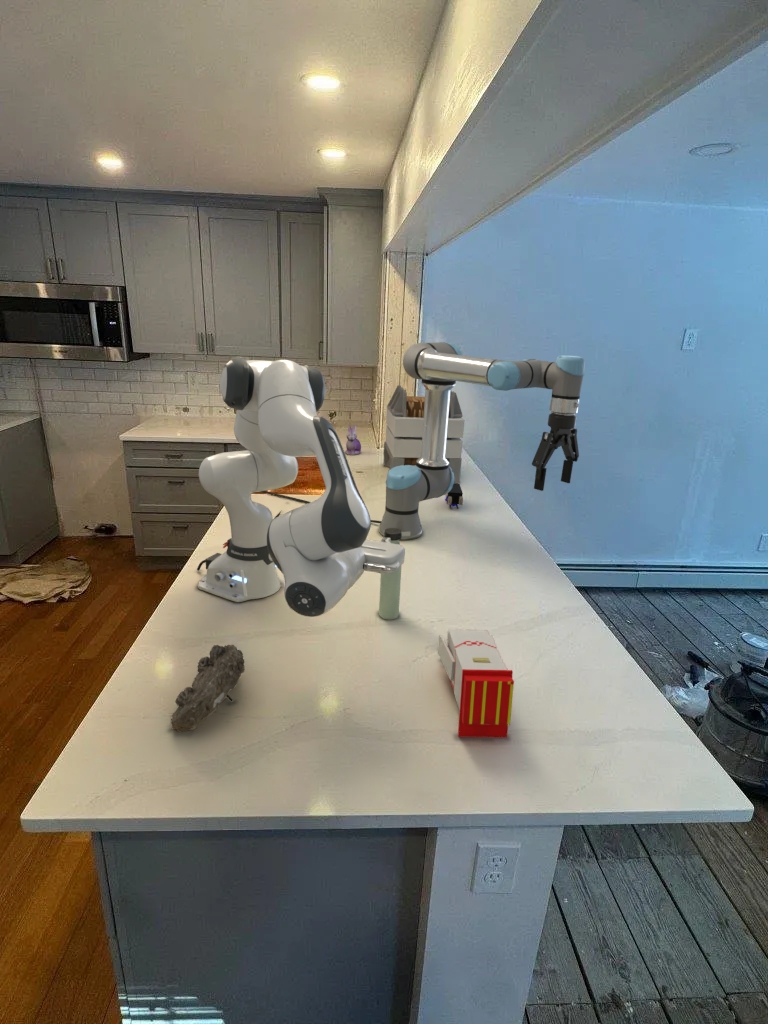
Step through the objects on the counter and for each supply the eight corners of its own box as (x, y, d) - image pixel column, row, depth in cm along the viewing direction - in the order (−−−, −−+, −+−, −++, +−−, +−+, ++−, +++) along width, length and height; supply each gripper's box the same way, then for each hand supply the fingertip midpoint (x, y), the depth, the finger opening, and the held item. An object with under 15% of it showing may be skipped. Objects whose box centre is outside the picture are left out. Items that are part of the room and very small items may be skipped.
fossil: (195, 646, 122) (244, 615, 117) (225, 676, 125) (275, 646, 120) (147, 725, 102) (204, 691, 98) (185, 758, 105) (242, 726, 100)
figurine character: (463, 514, 226) (458, 498, 239) (465, 496, 223) (460, 481, 236) (446, 513, 226) (442, 497, 239) (448, 496, 222) (444, 481, 236)
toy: (488, 613, 130) (523, 677, 101) (484, 667, 133) (517, 744, 104) (435, 612, 130) (455, 676, 101) (432, 666, 133) (451, 743, 103)
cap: (393, 542, 137) (393, 535, 136) (380, 537, 140) (380, 530, 139) (405, 537, 140) (405, 531, 139) (392, 532, 143) (392, 526, 142)
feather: (288, 505, 226) (290, 501, 226) (271, 529, 199) (273, 524, 199) (284, 503, 226) (287, 499, 225) (266, 526, 199) (269, 522, 199)
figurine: (349, 455, 300) (349, 427, 295) (341, 451, 309) (341, 424, 304) (365, 454, 305) (365, 426, 299) (357, 450, 313) (357, 423, 308)
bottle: (389, 621, 144) (393, 538, 136) (374, 614, 147) (378, 531, 139) (402, 614, 147) (407, 532, 139) (388, 607, 151) (392, 527, 143)
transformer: (382, 463, 289) (386, 382, 275) (445, 464, 293) (451, 384, 279) (390, 482, 257) (394, 392, 243) (460, 483, 261) (468, 394, 247)
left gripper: (394, 556, 102) (414, 530, 115) (292, 539, 108) (321, 516, 120) (393, 587, 104) (412, 559, 117) (292, 569, 110) (321, 543, 122)
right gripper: (548, 419, 148) (537, 496, 155) (598, 411, 163) (586, 482, 171) (525, 414, 153) (515, 489, 160) (575, 407, 169) (564, 476, 176)
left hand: (365, 537), depth 119 cm, fingers open, 8 cm apart
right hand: (552, 485), depth 166 cm, fingers open, 13 cm apart
